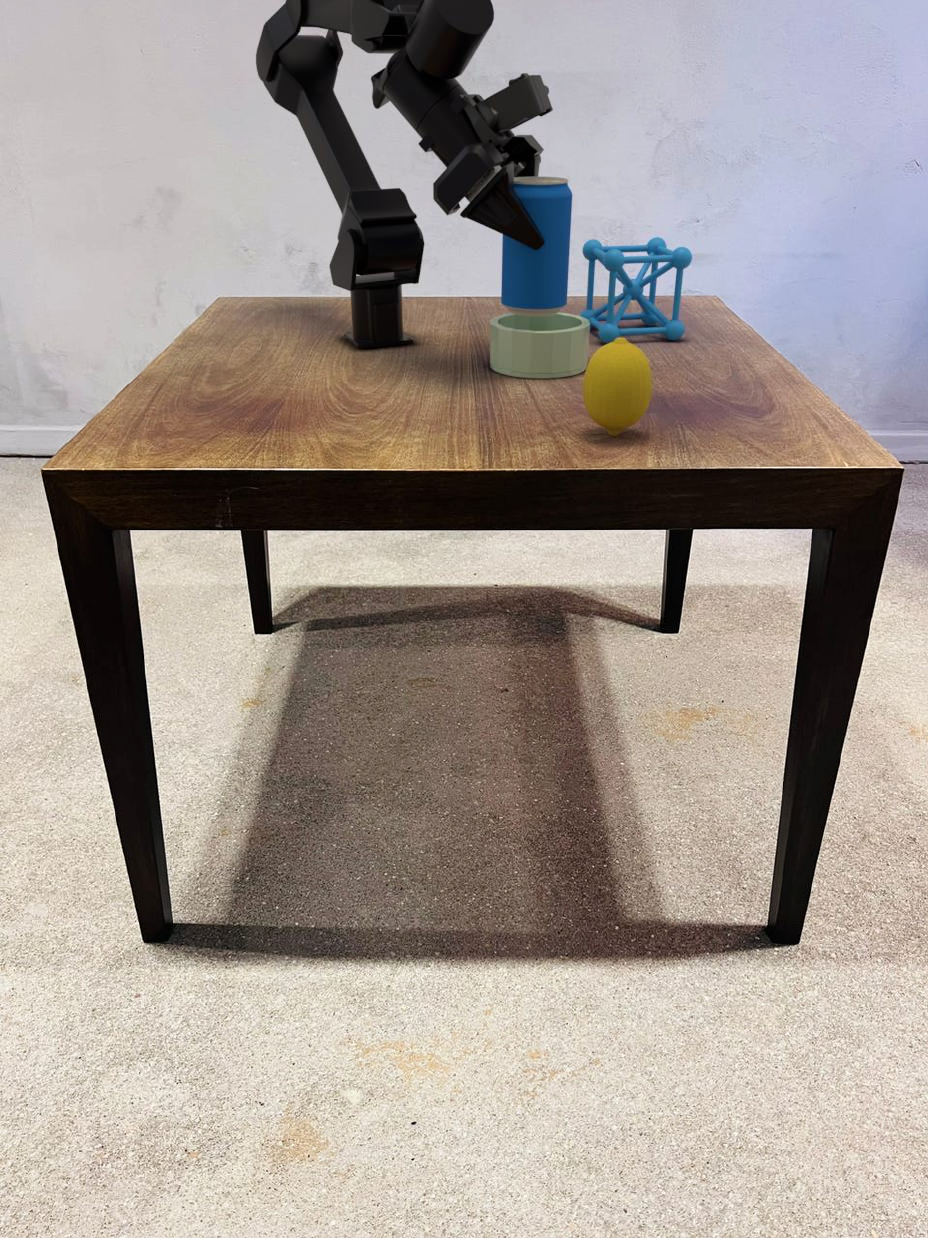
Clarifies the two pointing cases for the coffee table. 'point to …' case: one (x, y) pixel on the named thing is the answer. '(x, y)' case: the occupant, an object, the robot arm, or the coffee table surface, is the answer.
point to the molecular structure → (635, 288)
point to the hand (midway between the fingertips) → (549, 241)
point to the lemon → (617, 386)
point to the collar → (539, 345)
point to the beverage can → (539, 274)
